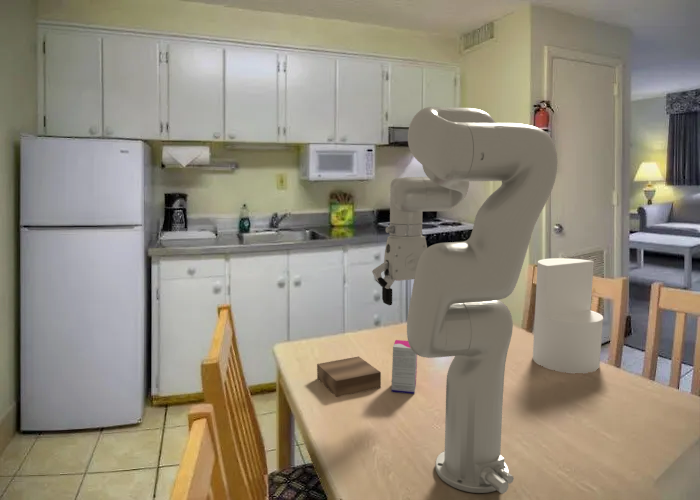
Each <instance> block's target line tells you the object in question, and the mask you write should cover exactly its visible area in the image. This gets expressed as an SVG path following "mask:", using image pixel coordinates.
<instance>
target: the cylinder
mask: <svg viewBox="0 0 700 500" xmlns="http://www.w3.org/2000/svg"><path fill="white" fill-rule="evenodd" d="M594 262H595V261H594V260H591V259H590V260H589V259H580V258H568V257H567V258H566V257H565V258H562V257H558V258H557V257H555V258H554V257H553V258H551V257H550V258H543V259H539V260H538V261H537V268H536V269H537V270H536V271H537V272H536V287H535V307H534V308H535V309H534V322H533V323H534V325H533V327H534V329H533V345H532V346H533V347H532V359H533V362H534V363H535V364H537V365H539V366H540V365H541V366H540V367H542V366H543V367H542V368H545V369H548V370H550V371H554V370H555V371H556V372H559V373H565V372H566V374H575V373H583V374H589V373H588V372H591V373H594V372H596V370H597V369H598V368H599V369H600V364H601V353H602V351H601V349H602V338H603V337H602V336H603V324H604V323H603V322H604V315H602V314H601V313H599V312H597V311H593V310H591V306H592V296H593V295H592V292H593V278H594V264H595V263H594ZM599 369H598V370H599ZM598 370H597V371H598ZM593 371H594V372H593Z"/></svg>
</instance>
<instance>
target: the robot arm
mask: <svg viewBox="0 0 700 500" xmlns="http://www.w3.org/2000/svg"><path fill="white" fill-rule="evenodd" d="M407 144H408V148H409V151H410V153H411V155H412V156H413V158H414V159H415V160H416V161H417V162H418V163H419V164H421V165H422V170H423V172H424V174H425V175H426V176H407V177H397V178H396V177H395V178H393V179H391V182H390V185H389V187H390V189H389V190H390V192H389V197H390V198H389V199H390V201H389V207H390V208H389V213H390V214H389V225H388V226H386V227H385V233H387V234H388V233H389V236H387V240H386V244H385V249H384V259H383V262H382V263H381V264H379V265H378V266H377V267H375V268H374V269H373V270H371V273H372V274H373V277H374V278H375V281H376V282H377V283H378V285H379V286H380V287H381V289H382V290H381V294H382V295H381V297H382V298H381V299H382V302H383V303H384V304H386V305H388V306H392V305H393V288H392V285H393V284H394V283H395V282H396V281H398V282H399V281H410V280H413V285H412V290H411V296H410V301H409V306H408V307H409V308H408V313H407V320H406V337H407V341H408V342H409V345H410V347H411V349H412V350H413V351H414V352H415V353H416V354H417V356H419V357H422V358H428V359H429V358H430V359H435V358H447V357H448V358H449V357H453V359H452V361H451V362H450V365H449V366H448V371H447V373H446V383H445V421H444V422H445V425H444V451H442V452H440V453H439V454H438V455H437V457H436V459H435V463H434V464H435V472H436V474H437V476H438V477H439V478H440V479H441V480H442V481H443V482H444V483H445V484H447V485H449V486H450V487H453V488H455V489H458V490H460V491H462V492H468V493H473V494H475V493H476V494H487V493H492V492H496V491H498V492H499V493H500V494H502V495H503V494H505V493H507V491H508V490H509V484H512V483H513V481H514V479H515V478H514V476H513V475H512V474H511V473H510V471H509V470H510V469H509V467H508V465H507V463H506V461H505V457H503V456H502V454H501V448H502V427H503V426H502V423H503V401H504V388H505V387H504V386H505V385H504V382H505V381H504V380H505V371H506V370H505V369H506V362H507V356H508V350H509V347H510V343H511V339H512V336H513V328H514V327H513V325H514V323H513V316H512V313H511V311H510V309H509V307H508V306H507V305H506V304H505V303H504V302H503V301H501V300H503V299H506V298H507V297H509V296H510V295H512V293H513V292H514V290H515V288H516V286H517V283H518V280H519V278H520V274H521V272H522V268H523V266H524V262H525V258H526V255H527V252H528V249H529V245H530V242H531V239H532V235H533V232H534V228H535V225H536V223H537V222H538V219H539V217H540V215H541V213H542V211H543V209H544V207H545V205H546V203H547V202H548V200H549V197H550V195H551V194H552V191H553V188H554V186H555V182H556V178H557V172H558V154H557V149H556V145H555V143H554V141H553V139H552V137H551V136H550V135H549V133H547V131H545V130H543V129H542V128H540V127H537V126H534V125H529V124H524V123H516V122H495V120H494V118H493V117H492V116H491V115H490V114H489V113H487V112H486V111H484V110H481V109H478V108H473V107H472V108H471V107H450V106H449V107H448V106H447V107H446V106H445V107H444V106H443V107H442V106H428V107H425V108H422V109H420V110H419V111H418V112H417V113H416V114H415V115H414V116H413V118H412V119H411V121H410V124H409V127H408V131H407ZM470 182H501V185H500V186H499V187H498V188H497V189H496V190H495V191H494V192H492V193H491V194H490V195H489V196H488V197H487V198H486V200H485V201H484V202H483V203H482V205H481V206H480V208H479V209H478V210H477V213H476V215H475V216H474V217H475V218H474V222H473V227H472V231H471V233H470V236H469V238H468V239H467V240H464V241H454V242H453V241H452V242H451V241H450V242H448V241H447V242H438V243H434V244H432V245H430V246H428V245H427V240H426V236H424V235H423V212H446V211H450V210H452V209H454V208H456V207H457V206H458V205H459V204H460V203H462V202H463V201H464V199H465V198H466V197H467V194H468V191H469V186H470ZM382 273H383V275H384V277H382Z"/></svg>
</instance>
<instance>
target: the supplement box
mask: <svg viewBox="0 0 700 500" xmlns="http://www.w3.org/2000/svg"><path fill="white" fill-rule="evenodd" d="M391 365H392V367H391V368H392V369H391V391H390V392H391V393H397V394H408V395H409V394H410V395H414V394H415V393H416V392H415V391H416V386H417V373H418V371H417V368H418V355H417V354H416V353H415V352H414V351H413V350H412V349H411V347H410V345H409V342H408V340H404V339H403V340H402V339H401V340H400V339H396V340H394V342H393V346H392V364H391Z"/></svg>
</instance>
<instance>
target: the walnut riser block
mask: <svg viewBox="0 0 700 500" xmlns="http://www.w3.org/2000/svg"><path fill="white" fill-rule="evenodd" d="M316 373H317V374H316V376H317V377H316V379H317V380H318V381H319V382H320V383H321V384H322V385H324V387H325V388H327V390H328V391H330V393H332V394H333V396H335V397H336V398H338V397H344V396H348V395H351V394H352V395H353V394H356V393H361V392H366V391H371V390H376V389H381V388H382V387H381V385H382V384H381V383H382V382H381V380H382V378H381V377H382V374H381V370H379V369H377V368H376V367H374V366H373V365H372V364H370V363H369V362H367V361H366V360H365V359H363V358H361V357H360V356H354V357H353V356H352V357H347V358H343V359H337V360H331V361H326V362H320V363H317V364H316Z"/></svg>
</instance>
